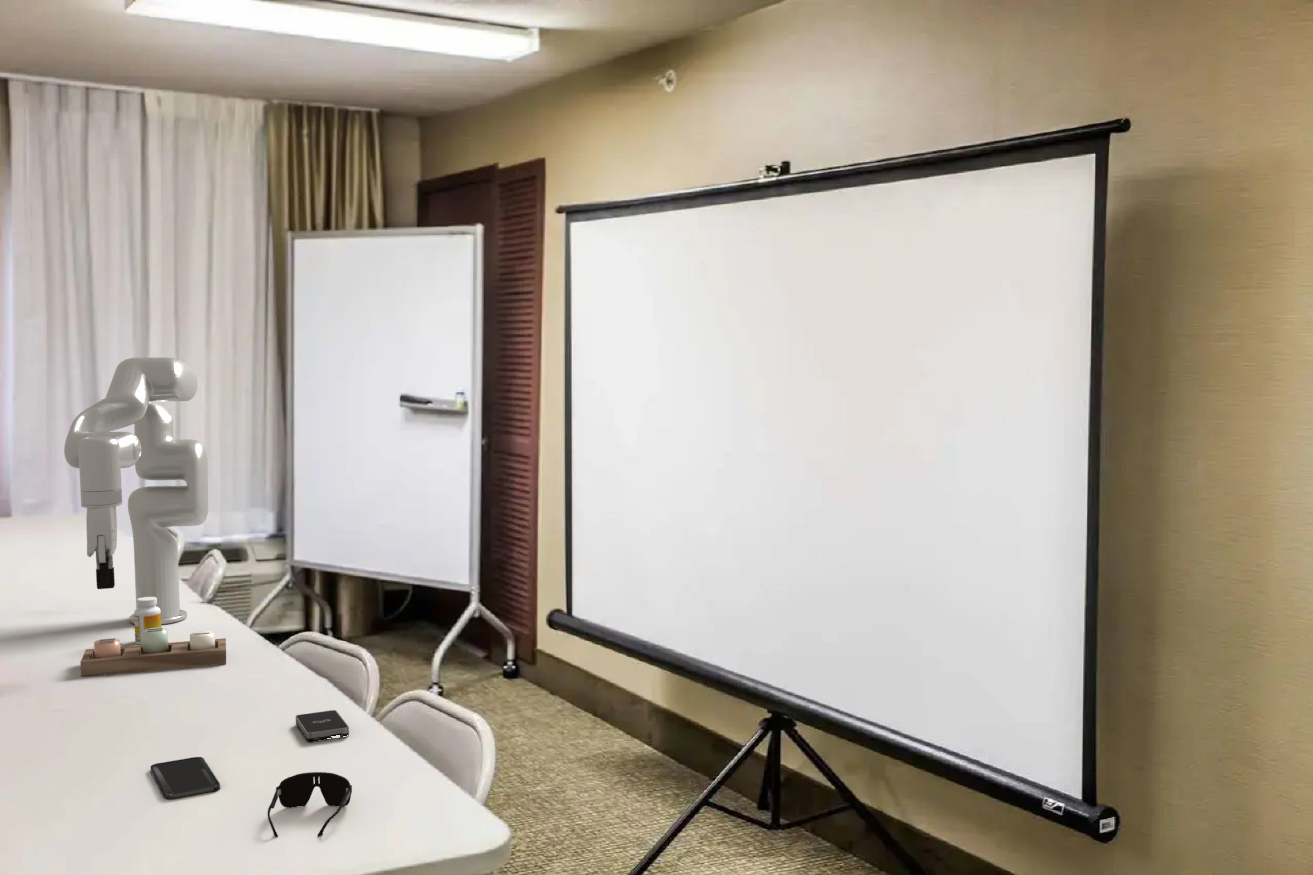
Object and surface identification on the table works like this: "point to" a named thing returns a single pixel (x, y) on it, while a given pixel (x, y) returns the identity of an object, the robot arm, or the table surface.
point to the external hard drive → (321, 725)
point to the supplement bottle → (146, 617)
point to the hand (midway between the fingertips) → (105, 587)
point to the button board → (153, 659)
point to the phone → (184, 778)
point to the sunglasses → (301, 788)
